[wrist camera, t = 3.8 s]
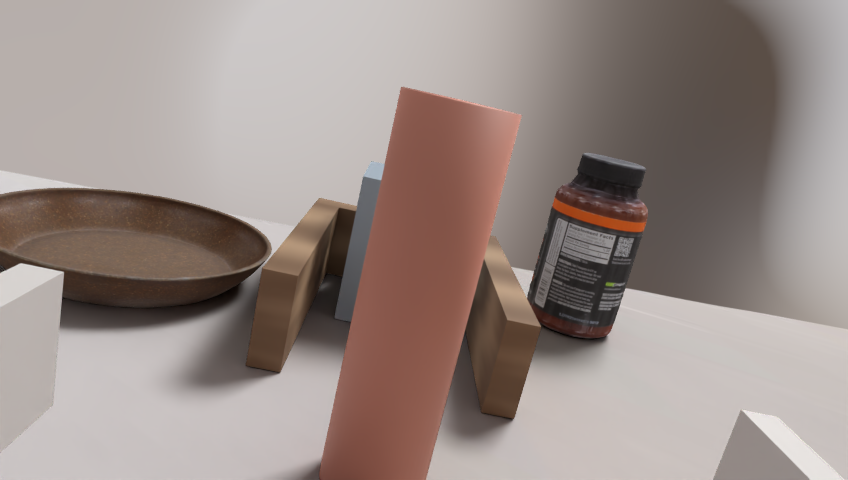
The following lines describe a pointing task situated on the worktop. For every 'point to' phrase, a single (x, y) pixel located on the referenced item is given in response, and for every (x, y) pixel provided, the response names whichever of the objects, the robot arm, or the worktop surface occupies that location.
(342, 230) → the wooden u-shaped frame
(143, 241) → the saucer
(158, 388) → the worktop surface
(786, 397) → the worktop surface
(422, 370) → the block
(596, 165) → the supplement bottle
